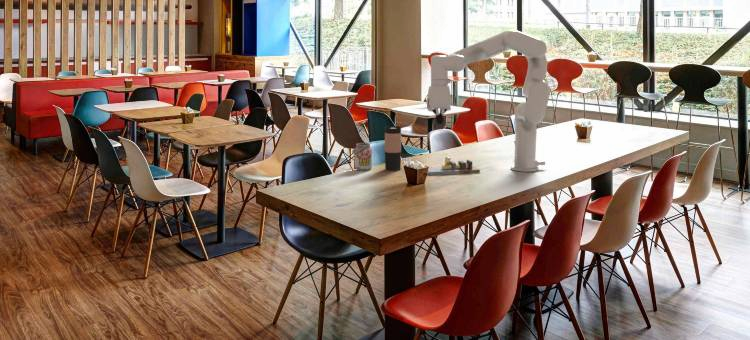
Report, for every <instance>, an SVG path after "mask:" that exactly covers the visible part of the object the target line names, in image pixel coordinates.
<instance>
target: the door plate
mask: <svg viewBox="0 0 750 340" xmlns="http://www.w3.org/2000/svg"><path fill="white" fill-rule="evenodd" d="M450 164H453V169H442V166H441V167H428V168H429V171H428V174H427V175H428V176H442V175H443V176H444V175H460V174H459V170H457V169H456V164H457V163H456V162H455V161H453V160H450Z"/></svg>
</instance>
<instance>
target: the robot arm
mask: <svg viewBox="0 0 750 340" xmlns="http://www.w3.org/2000/svg"><path fill="white" fill-rule="evenodd" d="M547 49H548V47H547V43H546V42H545V41H544V40H542V39H540V38H538V37H535V36H532V35H529V34H527V33H524V32H522V31H519V30H516V29H508V30H505V31H502V32H500V33H497V34H495V35H493V36H491V37H488V38H486V39H484V40H481V41H478V42H477V43H474V44H472V45H469V46H467V47H465V48H461V49H460V50H457V51H454V52H453V53H451V54H449V55H444V54H441V55H438V54H436V55H432V56H431V57H430V85H429V87H428V91H427V100H426V101H427V103H426V105H427V111H428V112H432V113H433V114H434V115H435V122H436V124H437V125H442V124H443V122H444V114H445V113H446V112H448V111H451V110H452V107H451V105H452V97H451V89H450V85H449V84H451V82H452V81H451V80H450V79H449V75H448V74H449V72H454V73H458V72H459V73H460V72H461V71H463V70H464V69H465V68H466V66H467V65H469V64H472V63H475V62H482V61H486V60H489V59H492V58H494V57H496V56H498V55H501V54H503V53H505V52H507V51H510V50H513V51H515V52H517V53H520V54H522V55H523V56H524V57H525V58H526V60H527V72H526V76H525V78H524V79H525V80H524V83H523V86H522V94H523V96H524V97H525V98H527V99H526V101H522V102H520V103H519V104H518V105H517V106H516V108H515V110H514V120H515V133H514V134H515V138H514V139H515V140H514V163H513V165H511V166H510V170H512V171H514V172H520V173H521V172H523V173H530V172H537V171H539V167H538V166H545V165H546V161H545V160H537V159H536V156H537V155H536V152H537V125H538V124H540V123H541V122H542V121H543V119H544V118H545V114H546V110H547V108H548V102H549V99H550V94H551V91H550V90H551V89H550V88H551V87H550V85H549V84H548V83H547V82H546V81H545V80H546V76H547V70H548V59H547V56H546V53H547Z"/></svg>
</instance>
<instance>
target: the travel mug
mask: <svg viewBox="0 0 750 340" xmlns="http://www.w3.org/2000/svg"><path fill="white" fill-rule="evenodd" d="M401 160H402V128H401V126H396V125H392V126H385V127H384V164H385V165H384V167H385V171H388V172H397V170H398V171H400V170H401V168H402V167H401V164H402V163H401V162H402V161H401Z"/></svg>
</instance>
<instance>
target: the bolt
mask: <svg viewBox="0 0 750 340" xmlns="http://www.w3.org/2000/svg"><path fill="white" fill-rule="evenodd" d="M450 161H451V156H444V164H441V167H442V169H453V164H450ZM459 168H461V164H458V163H456V169H459ZM466 168H468V164H466Z"/></svg>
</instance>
